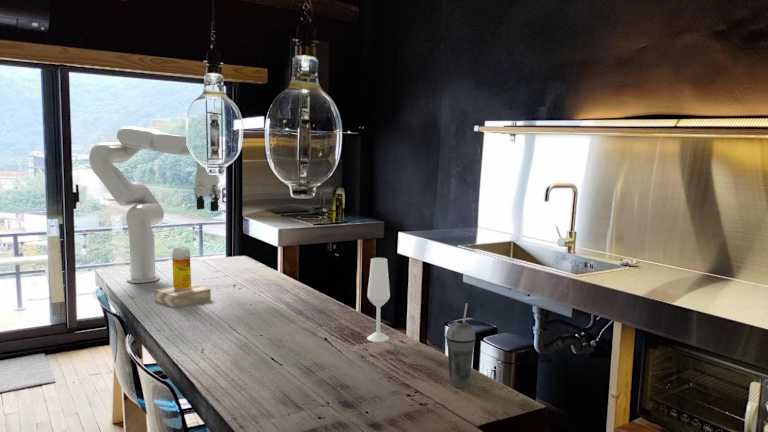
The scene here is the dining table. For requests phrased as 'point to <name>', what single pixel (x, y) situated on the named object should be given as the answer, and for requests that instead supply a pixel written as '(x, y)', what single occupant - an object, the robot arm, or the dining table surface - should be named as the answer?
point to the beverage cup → (460, 351)
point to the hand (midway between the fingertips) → (207, 210)
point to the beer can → (181, 269)
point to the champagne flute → (378, 292)
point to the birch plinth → (182, 296)
